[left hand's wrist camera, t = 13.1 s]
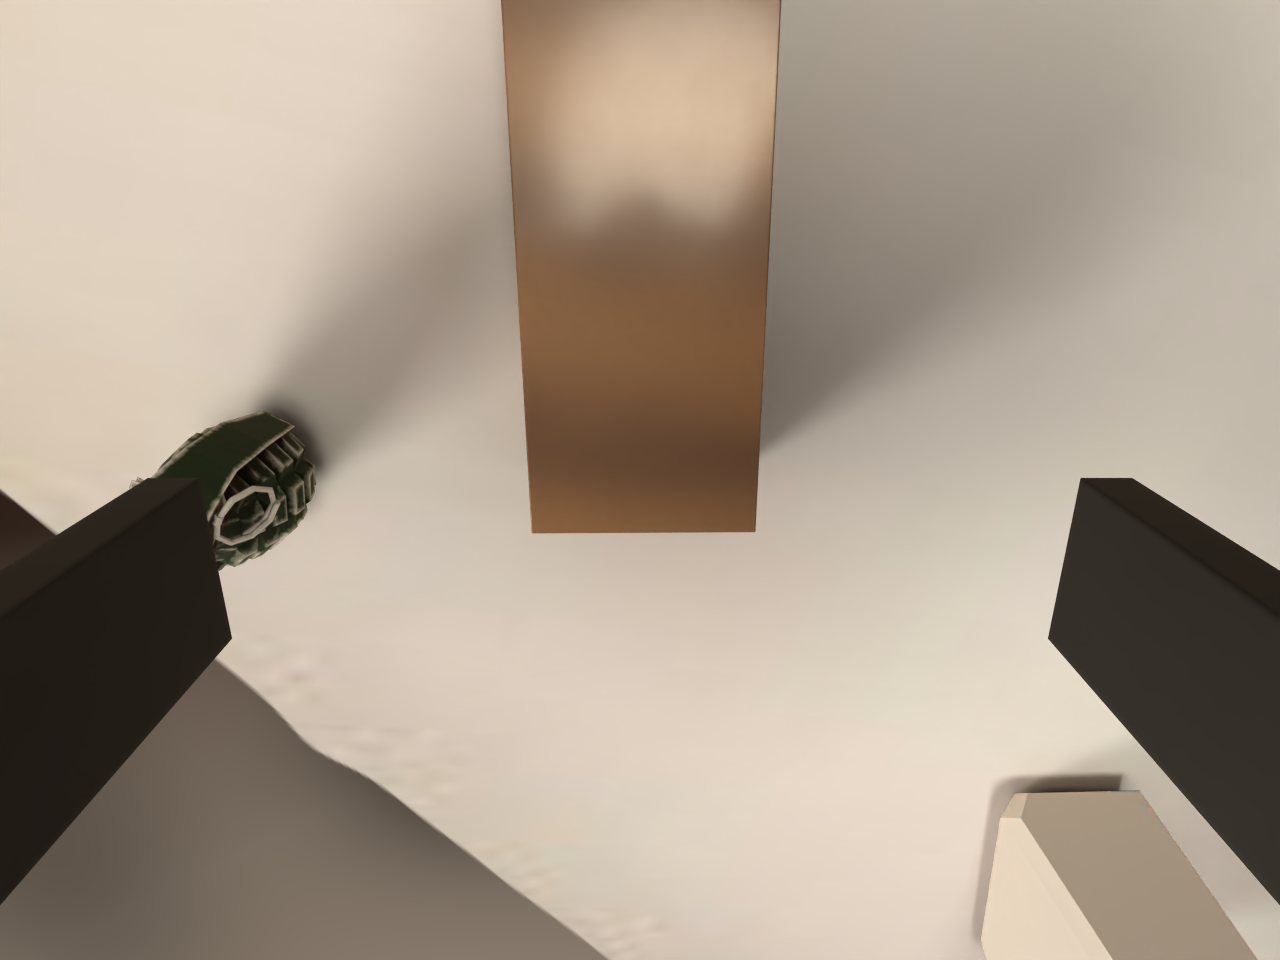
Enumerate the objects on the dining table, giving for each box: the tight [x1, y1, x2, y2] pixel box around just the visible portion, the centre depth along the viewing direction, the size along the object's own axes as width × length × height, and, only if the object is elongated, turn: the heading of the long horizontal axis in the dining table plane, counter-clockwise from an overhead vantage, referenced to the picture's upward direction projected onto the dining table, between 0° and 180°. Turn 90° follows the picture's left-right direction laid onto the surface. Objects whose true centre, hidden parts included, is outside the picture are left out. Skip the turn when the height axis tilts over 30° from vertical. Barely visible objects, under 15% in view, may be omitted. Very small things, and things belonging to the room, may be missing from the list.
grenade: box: [129, 411, 316, 571], centre depth 34 cm, size 7×6×10 cm
